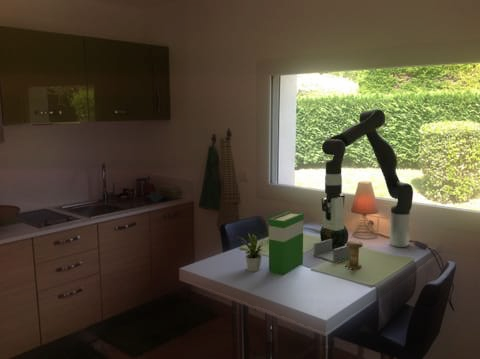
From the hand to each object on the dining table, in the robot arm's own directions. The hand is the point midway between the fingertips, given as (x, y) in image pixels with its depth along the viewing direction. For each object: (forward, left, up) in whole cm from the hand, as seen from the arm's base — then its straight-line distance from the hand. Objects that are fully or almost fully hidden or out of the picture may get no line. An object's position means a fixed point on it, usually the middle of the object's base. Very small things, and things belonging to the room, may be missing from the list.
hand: (333, 218), depth 199 cm
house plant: (+36, -16, -21) cm, 44 cm away
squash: (-20, -16, -21) cm, 33 cm away
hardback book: (+23, -7, -21) cm, 32 cm away
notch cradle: (-5, -4, -21) cm, 22 cm away
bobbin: (-2, +11, -21) cm, 23 cm away
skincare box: (0, 0, -5) cm, 5 cm away
